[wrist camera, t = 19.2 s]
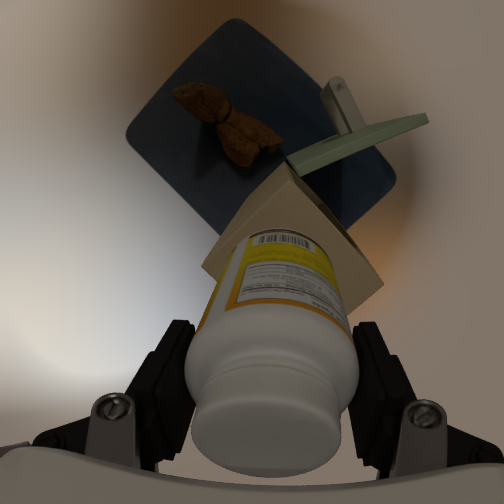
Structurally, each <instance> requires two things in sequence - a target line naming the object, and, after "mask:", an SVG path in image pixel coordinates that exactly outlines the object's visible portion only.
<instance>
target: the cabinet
mask: <svg viewBox="0 0 504 504" xmlns="http://www.w3.org/2000/svg"><path fill="white" fill-rule="evenodd" d="M269 228H288V229H293V230H296V231H299V232H302V233H304V234H306V235H308V236H309V237H311V238H312V239H314V240H315V241H316V242H317V243H318V244H319V245H320V246H321V247H322V248H323V249H324V251H325V252H326V253H327V255H328V257H329V259H330V261H331V263H332V266H333V269H334V273H335V277H336V280H337V283H338V287H339V290H340V293H341V297H342V301H343V304H344V308H345V312H346V315H349V314H350V313H351V312H352V311H354V310H355V309H356V308H357V307H358V306H360V305H361V304H362V303H363V302H364V301H366V300H367V299H368V298H369V297H370V296H372V295H373V294H374V293H375V292H376V291H377V290H378V289H379V288H381V287H382V286H383V285H384V283H383V281H382V280H381V278H380V277H379V275H378V274H377V273H376V271H375V270H374V268H373V267H372V266H371V264H370V263H369V261H368V260H367V259H366V257H365V256H364V254H363V253H362V252H361V250H360V249H359V248H358V246H357V245H356V244H355V242H354V241H353V240H352V238H351V237H350V236H349V235H348V233H347V232H346V230H345V229H344V228H343V226H342V225H341V224H340V223H339V221H338V220H337V219H336V217H335V216H334V215H333V214H332V212H331V211H330V210H329V208H328V207H327V206H326V205H325V203H324V202H323V201H322V200H321V199H320V198H319V197H318V196H317V195H316V194H315V193H314V192H313V191H312V190H311V189H310V187H309V186H308V185H307V184H306V183H305V182H304V181H303V180H302V179H301V178H300V177H299V176H298V175H297V174H296V173H295V172H294V171H293V170H292V169H291V168H290V167H289V166H288V165H287V164H286V163H285V162H283V163H282V164H281V165H280V166H279V167H278V168H277V169H276V170H275V171H274V172H273V173H271V174H270V175H269V176H268V177H267V178H266V179H265V180H264V181H263V182H262V183H261V184H260V185H259V186H258V187H257V188H256V189H255V190H254V191H253V192H252V193H251V194H250V195H249V196H248V197H247V199H246V200H245V202H244V203H243V204H242V206H241V207H240V209H239V210H238V212H237V213H236V215H235V216H234V218H233V219H232V220H231V222H230V223H229V225H228V226H227V228H226V229H225V231H224V232H223V234H222V235H221V237H220V238H219V240H218V241H217V243H216V244H215V246H214V247H213V249H212V250H211V251H210V253H209V254H208V256H207V257H206V259H205V260H204V262H203V264H202V265H201V267H202V268H203V269H204V270H205V271H206V272H207V273H208V274H209V275H210V276H212V277H213V278H214V279H215V280H216V281H217V282H218V280H219V277H220V275H221V273H222V271H223V268H224V266H225V264H226V262H227V259H228V257H229V255H230V254H231V252H232V251H233V249H234V248H235V247H236V246H237V245H238V244H239V243H240V242H241V241H242V240H243V239H245V238H246V237H248V236H249V235H251V234H253V233H255V232H258V231H261V230H264V229H269Z"/></svg>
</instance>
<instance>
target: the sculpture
mask: <svg viewBox="0 0 504 504" xmlns="http://www.w3.org/2000/svg"><path fill="white" fill-rule="evenodd" d="M227 94H228V93H227V91H225V90H224V89H222V88H221V87H218V86H217V87H216V86H214V85H210V84H207V83H199V82H189V83H188V84H186V85H181V86H179V87H177V88H175V89H174V90H173V92H172V96H173V98H174V99H175V100H176V101H177V102H178V103H179V104H181V105H182V106H183V107H184V108H185V109H186V110H187V111H188V112H190V113H192V114H193V115H194V116H196V117H197V118H198V119H200V120H202V121H204V122H208V123H213V124H214V126H215V131H216V133H217V135H218V137H219V138H220V141H221V144H222V146H223V149H224V151H225V153H226V154H227V156H228V157H229V158H230V159H231V160H232V161H234V163H236V164H238V165H239V166H243V167H251V166H252V165H253V162H254V160H255V158H256V157H257V156H259V155H260V149H263V150H264V151H265V152H269V153H274V152H275V151H276V148H278V146H279V145H281V144H283V143H284V140H283V139H282V137H281V136H279V135H277V134H276V133H275V132H274V131H273V130H272V129H271V128H270V127H268V126H267V125H265V124H263V123H261V121H259V120H258V119H256V118H254V117H252V116H250V115H248V114H245V113H243V112H240V111H238V110H237V109H236V108H235V107H233V106H231V102H230V101H229V99H228V97H227Z"/></svg>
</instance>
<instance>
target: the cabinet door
mask: <svg viewBox="0 0 504 504" xmlns="http://www.w3.org/2000/svg"><path fill="white" fill-rule="evenodd" d="M320 99H321V101H322V103H323V105H324V107H325V109H326V111H327V113H328V115H329V117H330V119H331V121H332V123H333V125H334V127H335V129H336V132H337V134H336V135H334V136H332V137H329V138H327V139H325V140H322V141H320V142H318V143H315V144H313V145H311V146H309V147H306V148H304V149H302V150H300V151H297V152H295V153H293V154H291V155H289V156H286V158H287V160H288V161H289V163H290V164H291V166H292V167H293V168H294V170H295V171H296V173H297V174H298V176H299V177H301V176H304V175H306V174H308V173H310V172H312V171H315V170H317V169H319V168H321V167H324V166H326V165H328V164H331V163H333V162H335V161H337V160H340V159H342V158H344V157H347V156H349V155H351V154H354V153H356V152H358V151H361V150H363V149H365V148H368V147H370V146H373V145H375V144H377V143H380V142H382V141H384V140H387V139H390V138H392V137H394V136H397V135H399V134H402V133H404V132H407V131H409V130H412V129H414V128H417V127H419V126H422V125H425V124H427V123H429V120H428V118H427V116H426V114H425V113H421V114H417V115H412V116H407V117H403V118H398V119H394V120H389V121H385V122H381V123H377V124H373V125H369V126H366V124H365V122H364V119H363V117H362V115H361V113H360V111H359V109H358V107H357V105H356V103H355V101H354V99H353V97H352V95H351V93H350V91H349V89H348V87H347V85H346V83H345V81H344V80H343V78H341V77H339V76H334V77H332V78H331V79H330V80H329V82H328V83H327V85H326V86H325V87H324V89H323V90H322V92H321V93H320Z"/></svg>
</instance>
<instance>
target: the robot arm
mask: <svg viewBox="0 0 504 504" xmlns="http://www.w3.org/2000/svg"><path fill="white" fill-rule="evenodd" d="M194 335H195V327H194V325H193V324H190V322H189V321H188V320H173V321H172V322H171V324H170V326H169V327H168V329H167V331H166V332H165V334H164V336H163V337H162V339H161V341H160V342H159V344H158V346H157V348H156V349H155V351H151V352H150V353H149V354H148V355H147V357H146V358H145V360H144V362H143V363H142V365H141V367H140V368H139V370H138V372H137V373H136V375H135V377H134V378H133V380H132V382H131V384H130V385H129V387H128V388H127V390H126V392H125V393H124V394H123V393H109V394H106V395H104V396H102V397H100V398H99V399H97V400H96V401H95V403H94V404H93V407H92V410H91V416H89V417H86V418H84V419H81V420H78V421H75V422H72V423H69V424H66V425H63V426H60V427H57V428H54V429H50V430H47V431H45V432H42V433H41V434H39V435H38V436H37V437H36V438H35V439H34V441H33V443H32V444H30V443H29V442H28V441H27V442H23V443H18V444H14V445H9V446H5V447H0V504H504V457H503V454H502V452H501V450H500V449H499V448H498V447H497V446H496V445H494V444H492V443H490V442H487V441H485V440H482V439H480V438H477V437H475V436H473V435H470V434H468V433H466V432H463V431H461V430H459V429H456V428H454V427H452V426H450V425H447V416H446V412H445V411H444V409H443V408H442V407H441V406H440V405H439V404H438V403H436V402H433V401H430V400H425V399H422V400H417V398H416V396H415V393H414V391H413V389H412V387H411V384H410V382H409V380H408V378H407V376H406V373H405V371H404V369H403V367H402V364H401V362H400V360H399V358H398V357H397V355H390V353H389V351H388V349H387V346H386V344H385V342H384V340H383V338H382V335H381V333H380V331H379V329H378V327H377V325H376V323H375V322H360V323H359V325H358V326H354V328H353V334H352V338H353V342H354V345H355V349H356V353H357V357H358V364H359V382H358V386H357V389H356V392H355V395H354V397H353V399H352V400H351V402H350V404H349V405H348V410H349V415H350V420H351V425H352V431H353V436H354V442H355V448H356V453H357V457H358V459H359V458H362V459H363V465H364V466H373V467H374V468H376V469H378V473H377V477H376V480H373V481H365V482H355V483H344V484H330V485H306V486H271V485H269V486H268V485H249V484H234V483H223V482H214V481H205V480H198V479H190V478H184V477H178V476H172V475H166V474H161V473H159V470H158V462H160V461H162V460H163V459H165V460H171V461H173V460H174V456H175V454H176V453H180V452H181V450H182V447H183V444H184V441H185V438H186V435H187V431H188V428H189V425H190V422H191V419H192V416H193V413H194V410H195V407H196V403H195V401H194V400H193V398H192V397H191V395H190V393H189V390H188V387H187V385H186V380H185V374H184V366H185V360H186V356H187V352H188V349H189V346H190V344H191V341H192V339H193V337H194Z"/></svg>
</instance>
